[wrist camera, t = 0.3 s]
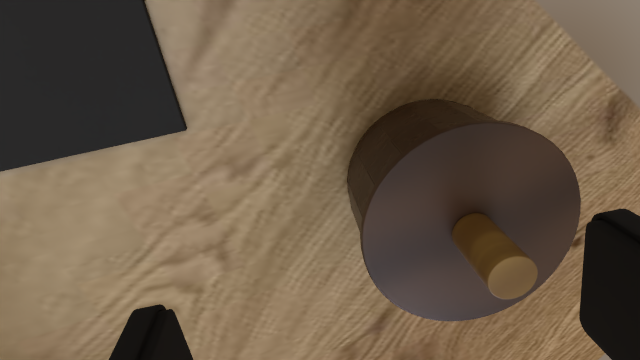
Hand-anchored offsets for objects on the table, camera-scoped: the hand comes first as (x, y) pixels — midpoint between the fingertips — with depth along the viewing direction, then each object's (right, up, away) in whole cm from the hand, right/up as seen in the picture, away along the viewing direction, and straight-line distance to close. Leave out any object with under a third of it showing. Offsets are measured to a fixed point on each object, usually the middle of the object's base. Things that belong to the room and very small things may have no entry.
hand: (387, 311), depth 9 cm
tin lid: (+8, 0, +17) cm, 18 cm away
